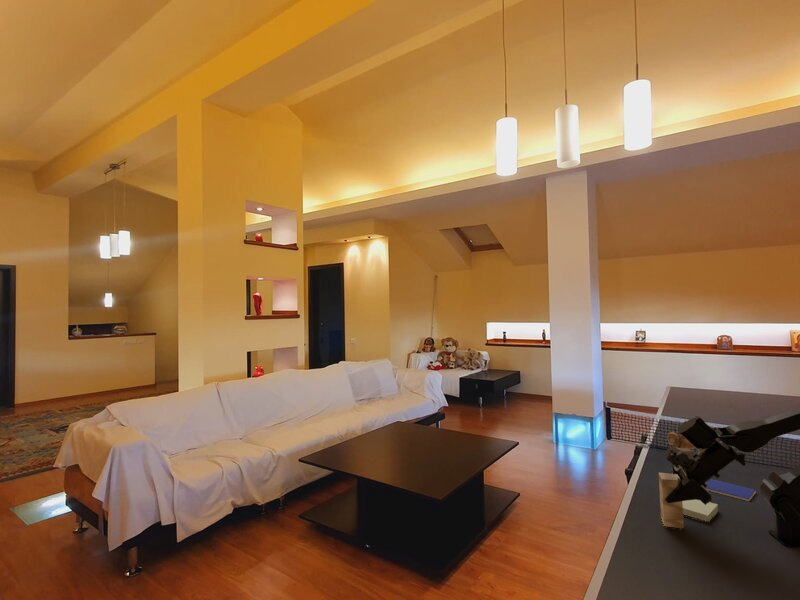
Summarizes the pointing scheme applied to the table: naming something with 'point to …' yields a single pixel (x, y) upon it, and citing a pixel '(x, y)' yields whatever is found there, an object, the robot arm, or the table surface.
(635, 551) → the table surface
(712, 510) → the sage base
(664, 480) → the maple post
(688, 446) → the lion figurine
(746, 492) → the hard drive
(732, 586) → the table surface
